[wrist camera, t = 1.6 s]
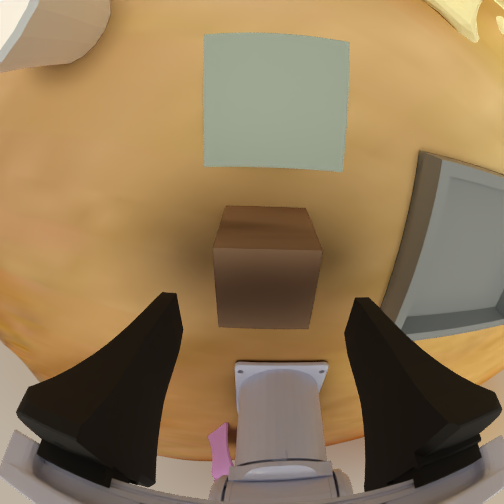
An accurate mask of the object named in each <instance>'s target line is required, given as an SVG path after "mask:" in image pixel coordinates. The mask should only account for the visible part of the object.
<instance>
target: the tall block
mask: <svg viewBox="0 0 504 504" xmlns="http://www.w3.org/2000/svg"><path fill="white" fill-rule="evenodd" d="M348 91H349V42H345V41H339V40H333V39H327V38H320V37H312V36H303V35H292V34H278V33H221V34H206V35H204V64H203V132H204V167H272V168H294V169H310V170H323V171H335V172H342V171H343V161H344V151H345V140H346V127H347V112H348Z"/></svg>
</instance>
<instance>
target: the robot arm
mask: <svg viewBox="0 0 504 504" xmlns="http://www.w3.org/2000/svg"><path fill="white" fill-rule="evenodd" d="M182 334H183V326H182V321H181V316H180V310H179V305H178V300H177V294H176V293H165V292H162V293H161V294H160V295H159V296H158V297H157V298H156V299H155V300H154V301H153V302H152V303H151V304H150V305H149V306H148V307H147V308H146V309H145V310H144V311H143V312H142V313H141V314H140V315H139V316H138V317H137V318H136V319H135V320H134V321H133V322H132V323H131V324H130V325H129V326H128V327H126V328H125V329H124V330H123V331H122V332H121V333H120V334H119V335H117V336H116V337H115V338H114V339H113V340H112V341H110V342H109V343H108V344H107V345H105V346H104V347H103V348H101V349H100V350H99V351H97V352H96V353H95V354H93V355H92V356H90V357H88V358H87V359H85V360H84V361H82V362H81V363H79V364H77V365H76V366H74V367H72V368H71V369H69V370H67V371H65V372H63V373H61V374H59V375H57V376H55V377H53V378H51V379H48V380H46V381H43V382H41V383H38V384H36V385H33V386H30V387H29V388H28V389H27V391H26V393H25V395H24V397H23V399H22V401H21V403H20V405H19V407H18V409H17V411H16V413H17V416H18V418H19V419H20V420H21V421H22V422H23V423H24V424H25V425H26V426H27V427H28V428H29V429H31V430H32V431H33V432H34V433H35V434H36V435H38V436H39V437H40V438H41V439H42V440H41V443H40V444H39V443H37V442H36V441H34V440H32V439H31V438H29V437H27V436H26V435H24V434H22V433H21V432H19V431H17V430H14V433H13V435H12V437H11V440H10V442H9V445H8V447H7V450H6V452H5V455H4V458H3V460H2V463H1V466H0V477H1V478H2V479H3V480H4V481H6V482H7V483H8V484H10V485H11V486H12V487H13V488H15V489H16V490H17V491H19V492H20V493H21V494H23V495H24V496H25V497H27V498H28V499H29V500H31V501H32V502H34V503H35V504H483V503H484V502H486V501H487V500H489V499H490V498H491V497H493V496H494V495H495V494H497V493H498V492H499V491H501V490H502V489H503V488H504V440H503V437H502V436H498V437H497V438H495V439H493V440H492V441H490V442H488V443H486V444H485V445H483V446H481V447H480V448H479V446H478V442H480V441H481V437H480V434H479V433H480V432H482V431H483V430H484V429H485V428H486V427H487V426H489V425H490V424H491V423H492V422H493V421H494V420H495V419H496V418H497V417H498V416H499V415H500V413H501V411H502V407H501V405H500V403H499V400H498V398H497V396H496V394H495V392H493V391H491V390H488V389H486V388H483V387H481V386H479V385H476V384H474V383H472V382H470V381H469V380H467V379H465V378H463V377H461V376H459V375H458V374H456V373H454V372H453V371H451V370H450V369H448V368H447V367H445V366H444V365H442V364H441V363H439V362H438V361H436V360H435V359H434V358H433V357H431V356H430V355H429V354H427V353H426V352H425V351H424V350H422V349H421V348H420V347H419V346H418V345H417V344H416V343H414V342H413V341H412V340H411V339H410V338H409V337H408V336H407V335H406V334H405V333H404V332H403V331H402V330H401V329H400V328H399V327H398V326H397V325H396V324H395V323H394V322H393V321H392V320H391V319H390V318H389V317H388V316H387V315H386V314H385V313H384V312H383V311H382V310H381V309H380V308H379V307H378V306H377V305H376V304H375V303H374V302H373V301H372V300H371V299H370V298H369V297H364V298H355V300H354V303H353V307H352V310H351V313H350V317H349V320H348V323H347V326H346V329H345V332H344V335H345V341H346V348H347V354H348V358H349V361H350V365H351V368H352V372H353V375H354V379H355V383H356V386H357V390H358V394H359V397H360V402H361V408H362V416H363V424H364V436H365V482H364V491H365V492H363V493H358V494H353V490H352V486H351V482H350V479H349V477H348V476H347V475H346V474H345V473H343V472H342V471H341V470H340V469H334V470H332V462H331V461H327V458H326V448H325V439H324V431H323V423H322V415H321V408H320V401H319V392H320V389H321V387H322V384H323V381H324V379H325V376H326V373H327V371H328V368H329V366H328V363H327V362H298V363H268V362H237V363H236V364H235V384H236V402H237V413H238V426H237V440H236V454H235V466H230V467H229V475H222V476H221V477H220V478H219V479H218V480H217V481H215V482H214V484H213V485H212V487H211V490H210V494H209V498H208V500H206V499H198V498H191V497H185V496H179V495H174V494H169V493H164V492H160V491H155V490H151V489H147V488H143V487H139V486H136V485H142V486H145V487H150V486H152V485H154V484H155V482H156V481H155V478H156V457H157V446H158V436H159V429H160V421H161V415H162V409H163V404H164V399H165V395H166V392H167V389H168V385H169V382H170V379H171V376H172V373H173V369H174V366H175V363H176V360H177V357H178V353H179V350H180V345H181V339H182ZM129 483H132V484H135V485H132V484H129Z"/></svg>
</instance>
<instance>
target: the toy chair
mask: <svg viewBox="0 0 504 504" xmlns="http://www.w3.org/2000/svg"><path fill="white" fill-rule="evenodd" d="M208 439H209V442H210V445H211V449H212V455H213V464H212V476H213V477H214V479H215V480H214V482H215V481H217V480H218V479H219V478H220V477H221V476H222V475H229V467H230V466H234V465H233V463H232V460H231V457H230V454H229V448H228V423H227V422H225V423H224V424H223V425H221V426H220V427H219V428H218V429H216V430H215V431H214V432H212V433H211V434H210V435H209V436H208Z"/></svg>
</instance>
